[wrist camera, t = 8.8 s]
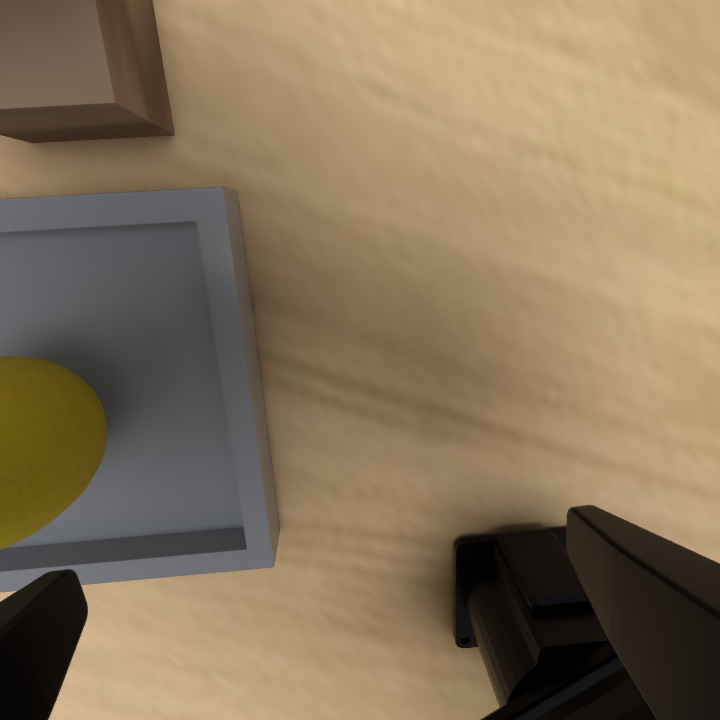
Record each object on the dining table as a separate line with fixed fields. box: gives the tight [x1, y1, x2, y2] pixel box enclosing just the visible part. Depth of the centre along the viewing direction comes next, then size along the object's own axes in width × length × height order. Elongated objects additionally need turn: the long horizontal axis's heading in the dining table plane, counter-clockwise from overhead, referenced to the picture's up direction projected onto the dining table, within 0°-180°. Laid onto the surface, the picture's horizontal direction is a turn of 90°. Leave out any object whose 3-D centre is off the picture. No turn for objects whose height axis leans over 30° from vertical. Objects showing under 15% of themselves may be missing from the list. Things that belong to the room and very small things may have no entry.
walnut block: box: [0, 0, 175, 143], centre depth 14 cm, size 5×5×5 cm
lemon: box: [0, 356, 108, 550], centre depth 15 cm, size 6×6×8 cm
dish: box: [0, 187, 280, 592], centre depth 18 cm, size 15×15×2 cm
